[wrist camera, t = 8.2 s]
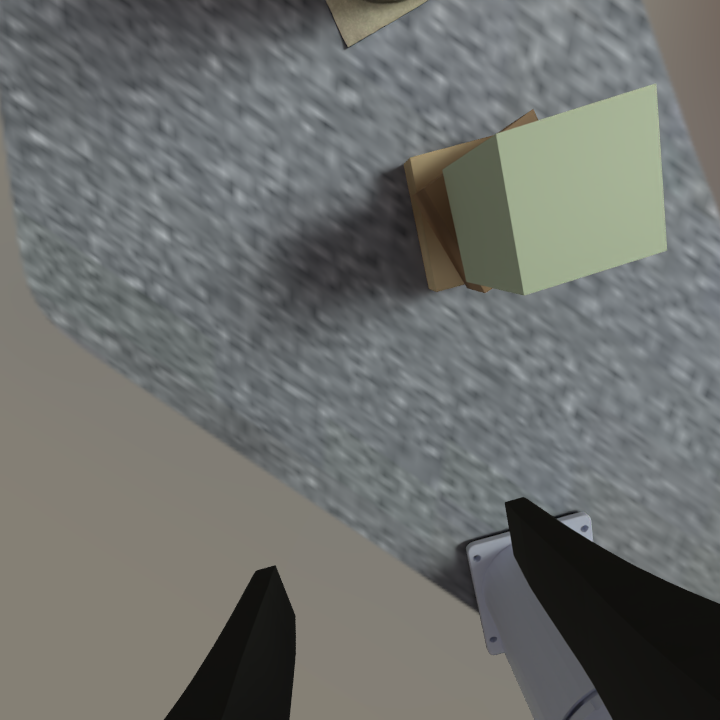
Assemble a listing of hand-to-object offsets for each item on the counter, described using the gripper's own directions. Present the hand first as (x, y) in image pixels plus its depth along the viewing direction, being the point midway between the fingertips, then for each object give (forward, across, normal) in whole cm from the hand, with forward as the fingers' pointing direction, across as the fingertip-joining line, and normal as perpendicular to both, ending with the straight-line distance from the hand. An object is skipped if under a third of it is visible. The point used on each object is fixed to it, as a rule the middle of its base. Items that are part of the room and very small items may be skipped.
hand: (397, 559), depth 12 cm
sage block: (+7, -8, -9) cm, 14 cm away
